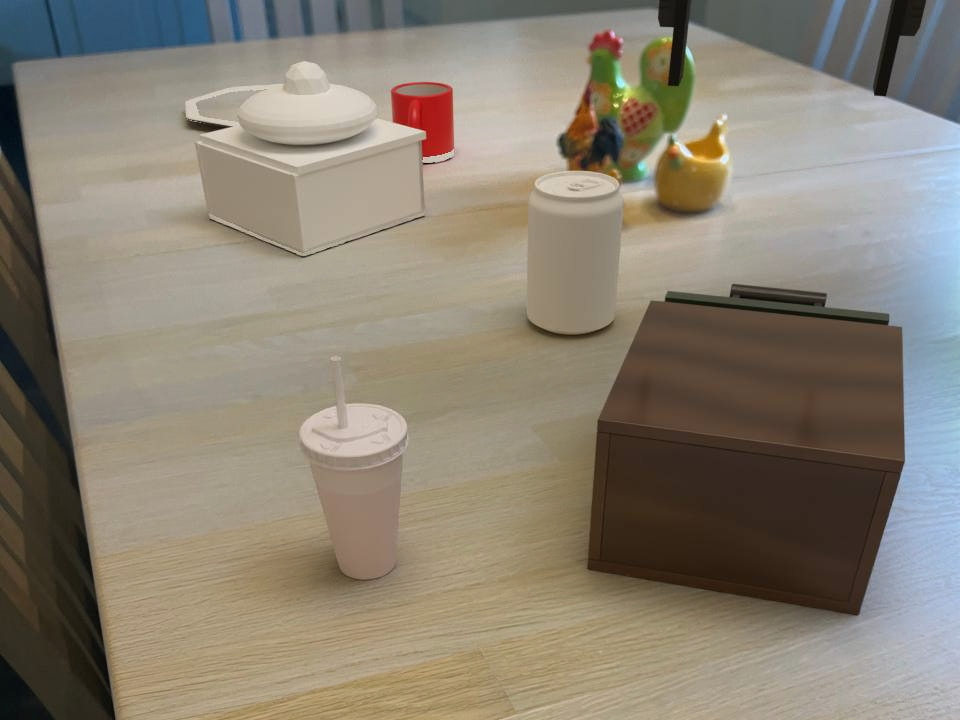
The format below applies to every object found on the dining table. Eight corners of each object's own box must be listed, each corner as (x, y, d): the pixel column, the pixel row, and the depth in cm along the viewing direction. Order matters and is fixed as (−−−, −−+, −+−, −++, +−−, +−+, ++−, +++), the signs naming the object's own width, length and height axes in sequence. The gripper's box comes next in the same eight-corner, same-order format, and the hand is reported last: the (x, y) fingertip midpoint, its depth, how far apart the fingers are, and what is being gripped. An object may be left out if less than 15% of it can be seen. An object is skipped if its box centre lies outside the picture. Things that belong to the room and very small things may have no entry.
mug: (386, 173, 127) (381, 104, 122) (399, 146, 136) (395, 81, 131) (448, 174, 127) (446, 105, 122) (457, 147, 136) (455, 81, 131)
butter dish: (208, 219, 115) (180, 61, 105) (332, 183, 125) (317, 35, 114) (303, 258, 106) (282, 89, 95) (429, 215, 115) (422, 57, 105)
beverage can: (508, 319, 93) (509, 182, 86) (571, 295, 97) (577, 163, 89) (569, 347, 89) (575, 205, 81) (633, 321, 93) (645, 184, 85)
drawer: (667, 368, 83) (679, 262, 78) (861, 392, 80) (889, 282, 74) (613, 513, 67) (624, 392, 62) (854, 551, 64) (889, 426, 58)
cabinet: (637, 435, 77) (650, 299, 70) (864, 467, 73) (902, 326, 66) (586, 569, 64) (597, 419, 57) (858, 615, 60) (905, 460, 53)
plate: (277, 144, 138) (276, 132, 137) (152, 122, 147) (150, 111, 146) (379, 106, 153) (379, 95, 152) (260, 88, 162) (259, 77, 161)
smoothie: (320, 536, 67) (291, 335, 58) (416, 531, 68) (403, 331, 58) (314, 595, 63) (283, 387, 53) (418, 590, 63) (404, 382, 54)
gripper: (1080, -350, 56) (963, 82, 69) (628, -335, 60) (603, 66, 74) (1108, -362, 50) (975, 109, 64) (608, -344, 55) (585, 90, 69)
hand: (775, 87), depth 69 cm, fingers open, 13 cm apart
